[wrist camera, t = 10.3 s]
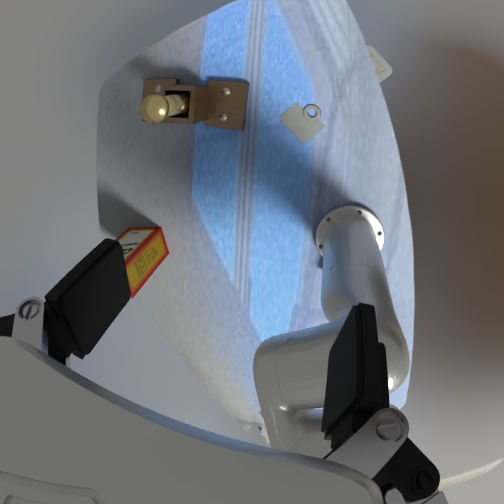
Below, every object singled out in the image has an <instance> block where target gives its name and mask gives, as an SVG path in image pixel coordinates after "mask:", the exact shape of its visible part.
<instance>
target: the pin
mask: <svg viewBox="0 0 504 504" xmlns="http://www.w3.org/2000/svg"><path fill="white" fill-rule="evenodd" d="M190 94H191V93H183V94H175V95H168V96H162V95H159V94H155V95H150V96H148V97H146V98H145V99H144V100H143V102H142V104H141V107H140V112H141V116H142V118H143V119H144V120H145V121H146V122H148V123H151V124H154V123H158V122H161V121H163V120H164V119H165V118H166V117H169V116H173V115H176V114H180V113H184V112H188V111H189V106H190Z"/></svg>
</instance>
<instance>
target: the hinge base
mask: <svg viewBox="0 0 504 504" xmlns="http://www.w3.org/2000/svg"><path fill="white" fill-rule="evenodd" d="M249 84H250V83H244V82H233V81H221V80H209V85H190V84H179V79H145V84H144V99H145V98H146V97H148V96H150V95H155V94H159V95H162V96H168V95H175V94H182V91H191V94H190V106H189V113H180V114H176V115H173V116H169V117H166V118H165V119H164V120H163V121H161V122H169V123H174V122H175V123H187V124H195V123H198V122H201V121H204V120H205V126H212V127H220V128H228V129H235V130H243V129H244V123H245V115H246V107H247V99H248V91H249ZM143 121H145V120H144V119H143Z"/></svg>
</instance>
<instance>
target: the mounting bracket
mask: <svg viewBox="0 0 504 504" xmlns="http://www.w3.org/2000/svg"><path fill="white" fill-rule="evenodd" d="M366 47H367V50H368V52H369V55H370V58H371V61H372V63H373V66H374V69H375V72H376V75H377V78H378V81H379V83H380V82H382V81H383V80H384V79H386V78H387V77H388V76H389V75H391V74H392V68H391V67H390V65H389V64H388V63H387V62H386V61H385V60H384V59H383V57H382V56H381V55H380V54H379V53H378V52H377V51H376V50H375V49H374V48H373V47H372V46H370V45H366ZM309 109H315V110H316V112H317V114H316V116H315V117H314V116H310V115H309V112H308V110H309ZM320 116H321V110H320V109H319V107H318V106H316V105H313V104H311V105H308V106H306V107H305V108H302V107H301V106H300V105H299V104H297V103H295V104H293V105H292V106H291V107H290V108H289V109H288V110H287V111H286V112H284V113H283V114H282V115H281V116H280V121H281V122H282V123H283V124H284V125H285V126H286V127H287V128H288V130H289V131H290V132H291V133H292V134H293V135H294V136H295V137H296V138H297V139H298V140H299V141H300V142H302V143H306V142H308V141H309V140H310V139H311V138H312V137H313V136H315V135H316V134H317V133H318V132H319V131H321V130H322V129H323V128H324V127H325V125H324V124H323V123H321V122H320V121H319V120H318V119H319V118H320Z"/></svg>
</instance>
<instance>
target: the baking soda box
mask: <svg viewBox="0 0 504 504" xmlns="http://www.w3.org/2000/svg"><path fill="white" fill-rule="evenodd" d="M116 241H119V243H120V245H121V246H122V247H123V253H124V259H125V264H126V270H127V275H128V281H129V286H130V291H131V297H130V298H133V297H134V296H135V295H136V294H137V292H138V291H139V290H140V289H141V287H142V286H143V285H144V284H145V282H146V281H147V280H148V278H149V277H150V276H151V275H152V274H153V272H154V271H155V270H156V269H157V267H158V266H159V265H160V264H161V262H162V261H163V260H164V259H165V258H166V256H167V255H168V254H169V251H168V248H167V245H166V242H165V238H164V235H163V232H162V229H161V227H153V228H131V229H127V230H126V231H125V232H124V233H122V234H121V235H120V236H119V237H118V238H117V239H116Z"/></svg>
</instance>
